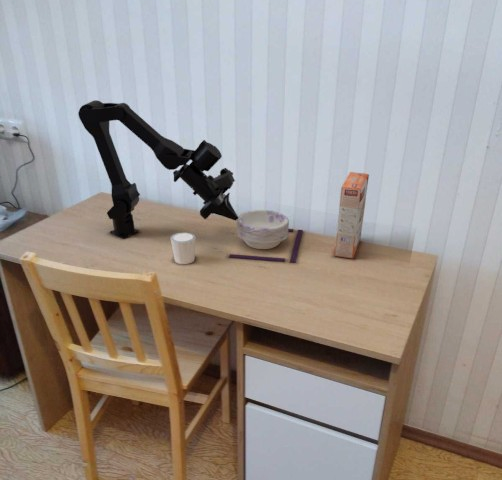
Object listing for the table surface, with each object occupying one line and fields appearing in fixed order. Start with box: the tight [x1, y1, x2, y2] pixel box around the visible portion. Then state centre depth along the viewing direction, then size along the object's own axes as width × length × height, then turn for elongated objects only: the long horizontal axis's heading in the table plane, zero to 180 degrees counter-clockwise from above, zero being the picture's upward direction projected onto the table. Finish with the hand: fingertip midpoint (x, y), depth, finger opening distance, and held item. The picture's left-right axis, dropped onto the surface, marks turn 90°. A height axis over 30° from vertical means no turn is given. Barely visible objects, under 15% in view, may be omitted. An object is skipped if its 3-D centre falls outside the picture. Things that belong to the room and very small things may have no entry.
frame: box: [228, 228, 304, 264], centre depth 160 cm, size 19×22×1 cm
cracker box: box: [333, 171, 370, 259], centre depth 152 cm, size 14×6×21 cm, turn 161°
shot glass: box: [170, 232, 196, 265], centre depth 150 cm, size 7×7×7 cm
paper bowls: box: [236, 209, 290, 250], centre depth 159 cm, size 15×15×8 cm
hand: (237, 219), depth 158 cm, fingers closed, pressing on paper bowls
